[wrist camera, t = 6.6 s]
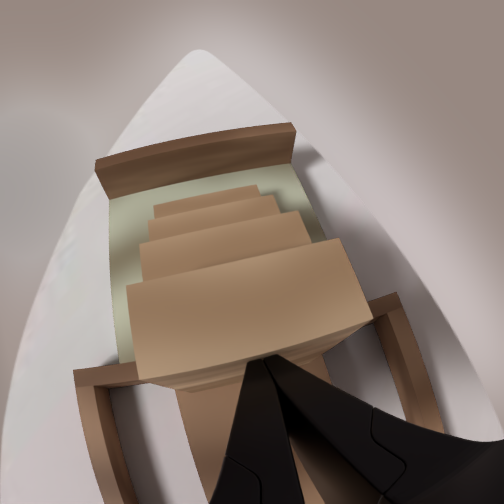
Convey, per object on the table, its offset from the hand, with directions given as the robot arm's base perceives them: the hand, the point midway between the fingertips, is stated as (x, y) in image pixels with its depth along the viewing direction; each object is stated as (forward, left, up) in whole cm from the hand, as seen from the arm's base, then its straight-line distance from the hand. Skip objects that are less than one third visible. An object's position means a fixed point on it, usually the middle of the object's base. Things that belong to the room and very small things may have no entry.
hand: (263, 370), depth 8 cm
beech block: (+5, +2, -7) cm, 9 cm away
